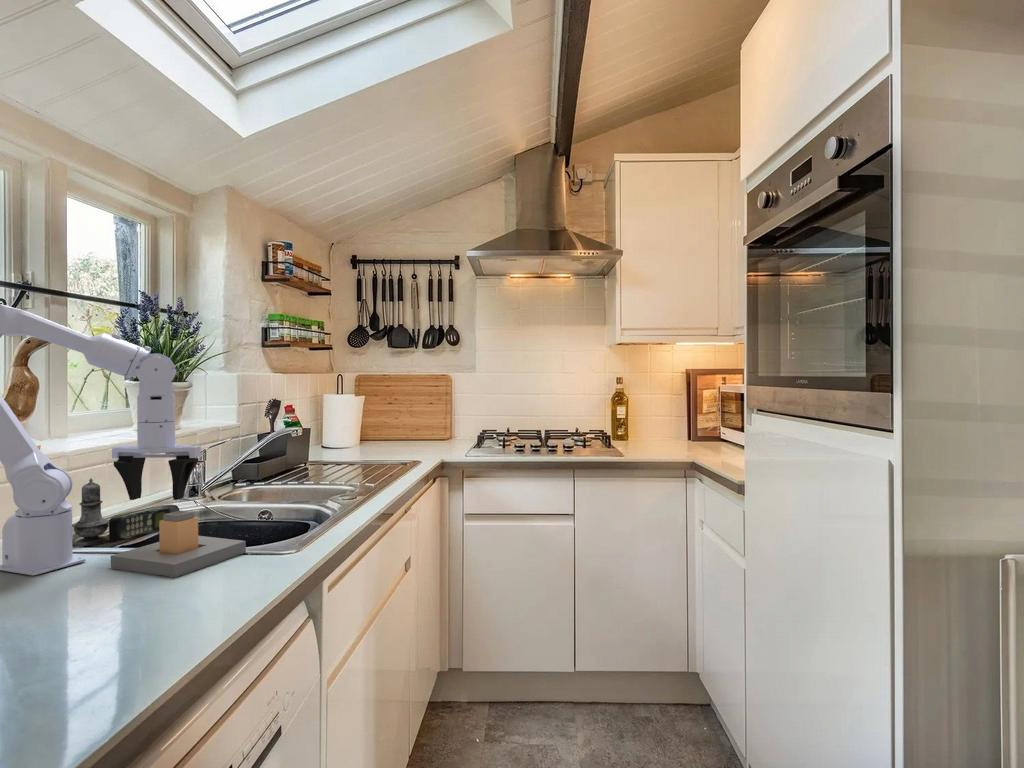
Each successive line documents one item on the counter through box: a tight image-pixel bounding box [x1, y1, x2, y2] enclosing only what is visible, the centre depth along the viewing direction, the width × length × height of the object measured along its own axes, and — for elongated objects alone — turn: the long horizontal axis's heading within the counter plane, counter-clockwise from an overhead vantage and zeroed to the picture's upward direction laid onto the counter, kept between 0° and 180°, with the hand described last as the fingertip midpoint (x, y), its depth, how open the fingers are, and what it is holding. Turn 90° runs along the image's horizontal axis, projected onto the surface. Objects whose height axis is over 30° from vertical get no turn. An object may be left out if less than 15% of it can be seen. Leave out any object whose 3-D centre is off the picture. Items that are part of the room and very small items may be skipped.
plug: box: [158, 509, 199, 554], centre depth 97 cm, size 4×4×8 cm
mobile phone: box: [108, 503, 180, 542], centre depth 116 cm, size 5×3×15 cm
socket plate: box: [110, 535, 247, 578], centre depth 98 cm, size 14×14×2 cm
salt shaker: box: [72, 477, 110, 547], centre depth 109 cm, size 6×6×12 cm
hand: (156, 498), depth 102 cm, fingers open, 7 cm apart
